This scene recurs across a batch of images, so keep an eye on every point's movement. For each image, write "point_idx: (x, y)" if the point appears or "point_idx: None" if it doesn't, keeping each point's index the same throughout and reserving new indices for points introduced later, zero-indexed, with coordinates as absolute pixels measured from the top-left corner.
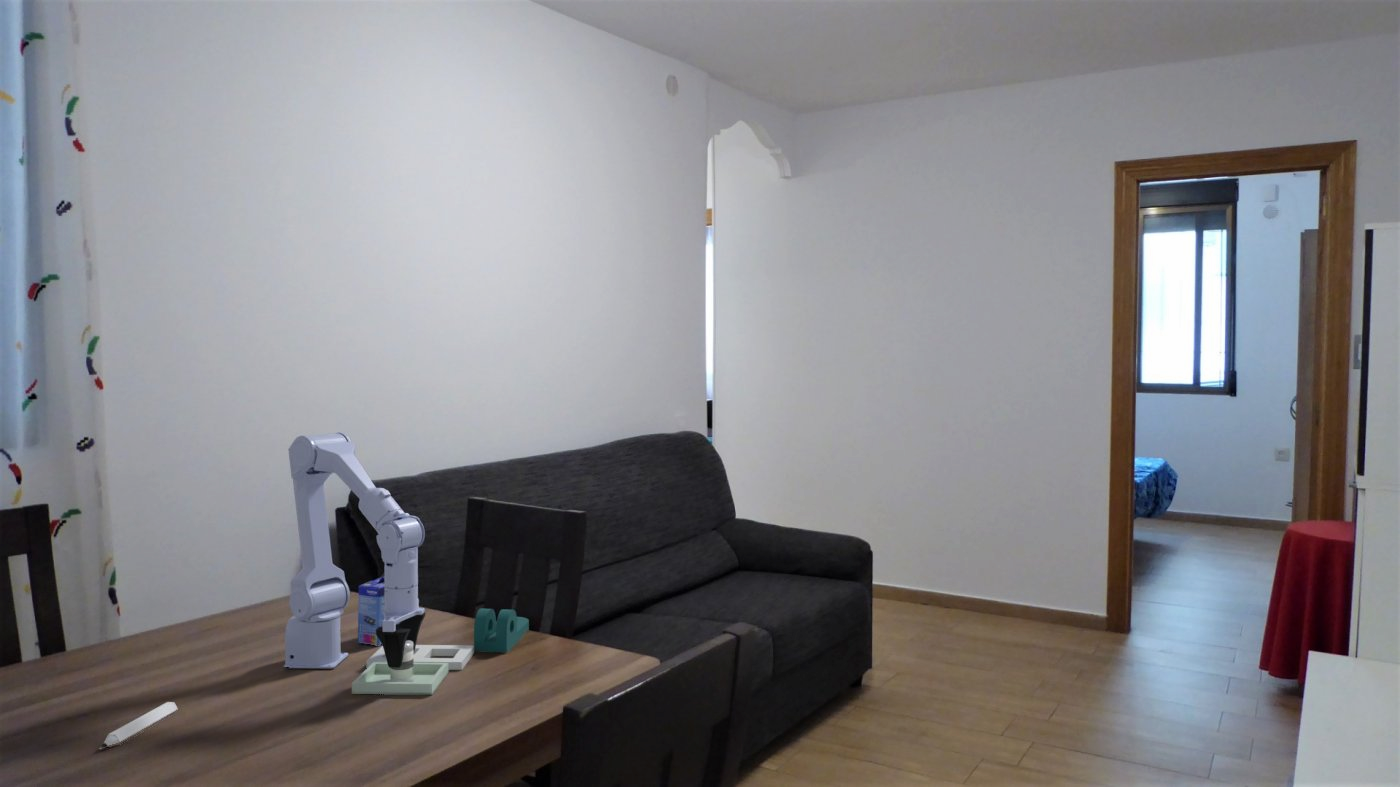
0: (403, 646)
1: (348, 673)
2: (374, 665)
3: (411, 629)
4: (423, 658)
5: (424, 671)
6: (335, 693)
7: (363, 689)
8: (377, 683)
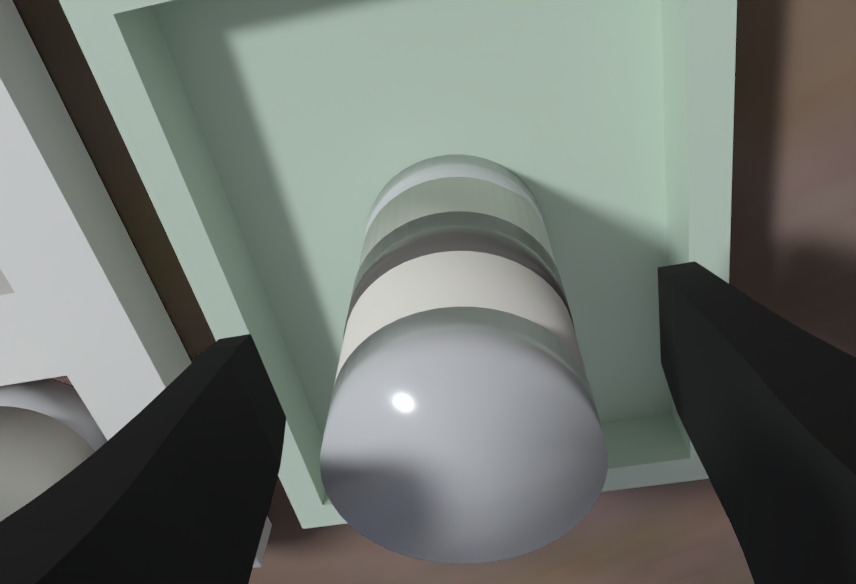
0: (836, 374)
1: (364, 564)
2: None
3: (159, 563)
4: (28, 288)
5: (212, 170)
6: (679, 497)
7: None
8: None
